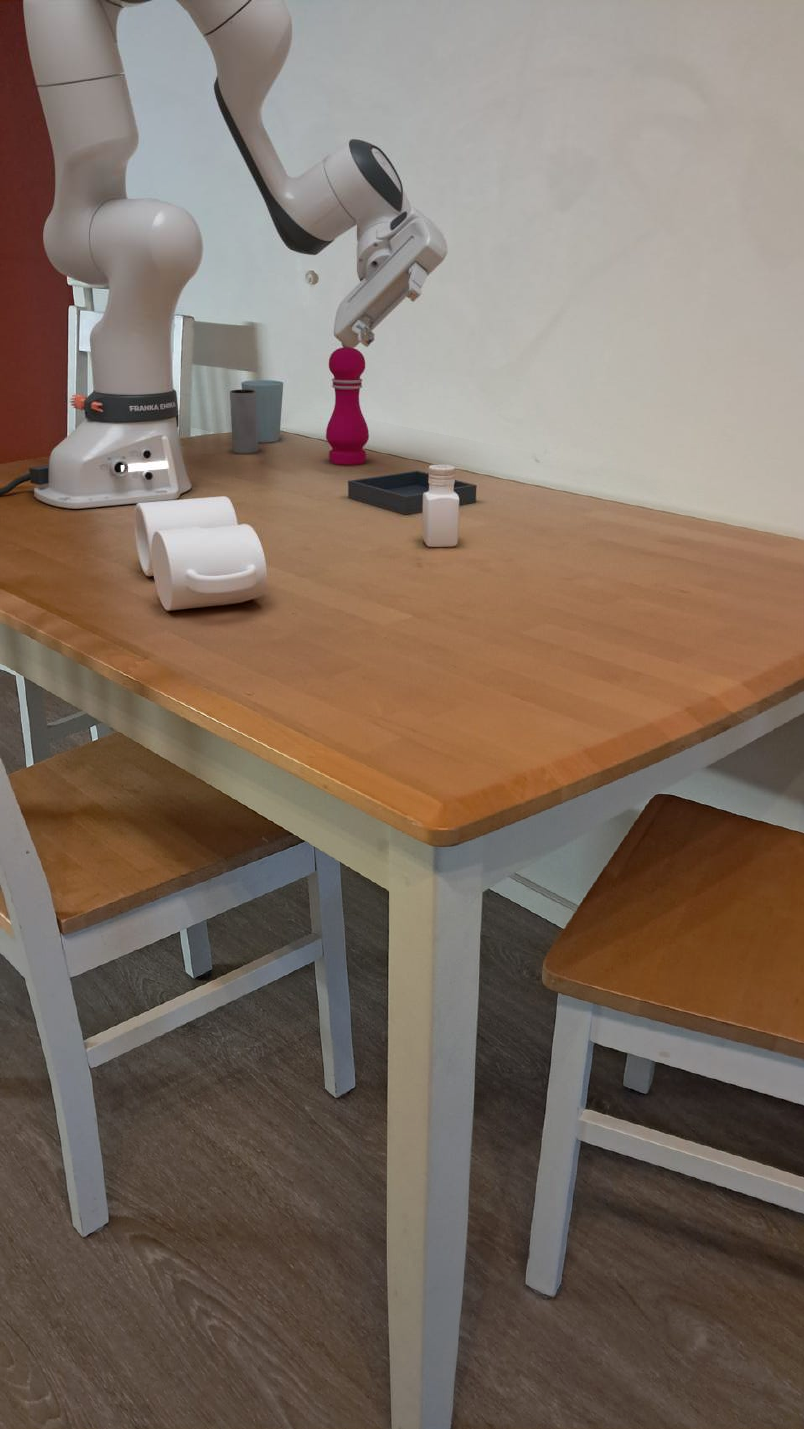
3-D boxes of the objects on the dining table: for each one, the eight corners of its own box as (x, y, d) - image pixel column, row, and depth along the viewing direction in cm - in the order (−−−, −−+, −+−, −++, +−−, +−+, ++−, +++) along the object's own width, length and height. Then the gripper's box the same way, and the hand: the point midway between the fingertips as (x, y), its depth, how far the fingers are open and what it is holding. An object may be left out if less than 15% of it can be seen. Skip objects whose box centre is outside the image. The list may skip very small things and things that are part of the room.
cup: (251, 444, 194) (248, 385, 190) (238, 438, 201) (235, 380, 196) (290, 442, 197) (289, 383, 193) (276, 436, 204) (274, 379, 200)
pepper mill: (367, 466, 177) (368, 339, 169) (324, 465, 178) (322, 338, 169) (369, 458, 184) (370, 335, 176) (328, 457, 184) (326, 335, 176)
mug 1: (242, 575, 119) (238, 504, 115) (152, 585, 115) (146, 511, 112) (213, 549, 129) (209, 482, 125) (130, 557, 125) (123, 489, 122)
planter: (227, 452, 187) (224, 391, 183) (242, 448, 191) (239, 388, 187) (249, 454, 185) (246, 393, 181) (263, 450, 189) (261, 390, 185)
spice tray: (405, 514, 146) (405, 496, 145) (348, 497, 155) (347, 480, 154) (475, 502, 154) (476, 485, 153) (417, 486, 163) (417, 470, 162)
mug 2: (152, 596, 111) (146, 520, 108) (239, 585, 115) (235, 512, 112) (183, 631, 101) (177, 549, 98) (276, 618, 105) (273, 539, 102)
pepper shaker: (452, 539, 134) (455, 463, 130) (458, 547, 131) (461, 469, 127) (421, 540, 134) (422, 463, 130) (426, 548, 130) (428, 470, 126)
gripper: (324, 297, 158) (322, 354, 150) (419, 197, 146) (423, 252, 138) (356, 322, 161) (356, 379, 153) (452, 226, 150) (458, 282, 141)
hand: (389, 318), depth 145 cm, fingers open, 8 cm apart
